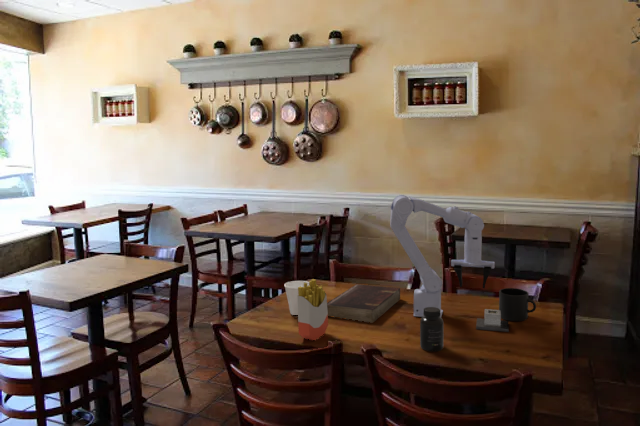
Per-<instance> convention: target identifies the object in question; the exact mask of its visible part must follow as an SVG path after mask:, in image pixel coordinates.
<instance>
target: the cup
mask: <svg viewBox="0 0 640 426" xmlns="http://www.w3.org/2000/svg"><path fill="white" fill-rule="evenodd" d="M304 283H307V286H308V285H309V281H307V280H292V281H287V282H285V283H284V288H285V293H286V298H287V302H288V309H289V313H290V315H291V316H293V315H298V299H297V296H298V295H299V294H298V287H304Z"/></svg>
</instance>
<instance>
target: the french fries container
mask: <svg viewBox="0 0 640 426" xmlns="http://www.w3.org/2000/svg"><path fill="white" fill-rule="evenodd" d="M308 282H309V285H308V286H307V283H304V287H298V294H299V295H298V296H297V299H298V316H297V321H298V322H297V323H298V325H297V326H298V335H299V336H300V337H302V339H304V338H305V340H308V339H309V341H313V340H315V341H317V340H318V339H320V338H321V337H320V336H322V335H323V334H324V335H325V333H326V331H327V329H328V326H329V317H328V310H327V303H328V300H327V299H328V298H327V292H326V290H324V288H323V285H320V286H319V285H318V284H317V279H314V278H312V279H310V280H309V281H308ZM324 335H323V336H324ZM323 336H322V337H323ZM319 337H320V338H319ZM317 338H318V339H317ZM316 339H317V340H316Z"/></svg>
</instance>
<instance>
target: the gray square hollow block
mask: <svg viewBox="0 0 640 426" xmlns="http://www.w3.org/2000/svg"><path fill="white" fill-rule="evenodd" d="M483 317H484V318H483V319H484V326H496V327H501V319H502V318H501V311H500V310H499V309H491V308H490V309H489V308H485V309H484V316H483Z"/></svg>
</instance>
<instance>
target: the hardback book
mask: <svg viewBox="0 0 640 426" xmlns="http://www.w3.org/2000/svg"><path fill="white" fill-rule="evenodd" d="M399 301H401V288H400V287H391V286H381V285H369V284H358V283H356V284H354V285H353V286H351V287H350V288H348V289H347V290H345V291H344V292H342V293H340V294H339V295H337V296H336V297H334V298H333V299H331V300H329V301H327V310H328V316H334V317H333V318H335V317H340V318H339V319H342V318H346V319H345V320H349V319H352V320H351V321H355V320H358V322H362V321H364V323H369V322H370V323H371V324H373V323H374V322H376V321H377V320H378V319H379V318H380V317H381V316H382V315H384V314H385V313H386V312H387V311H388V310H390V309H391V308H392V307H393V306H394V305H395V304H396V303H398V302H399Z"/></svg>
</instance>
